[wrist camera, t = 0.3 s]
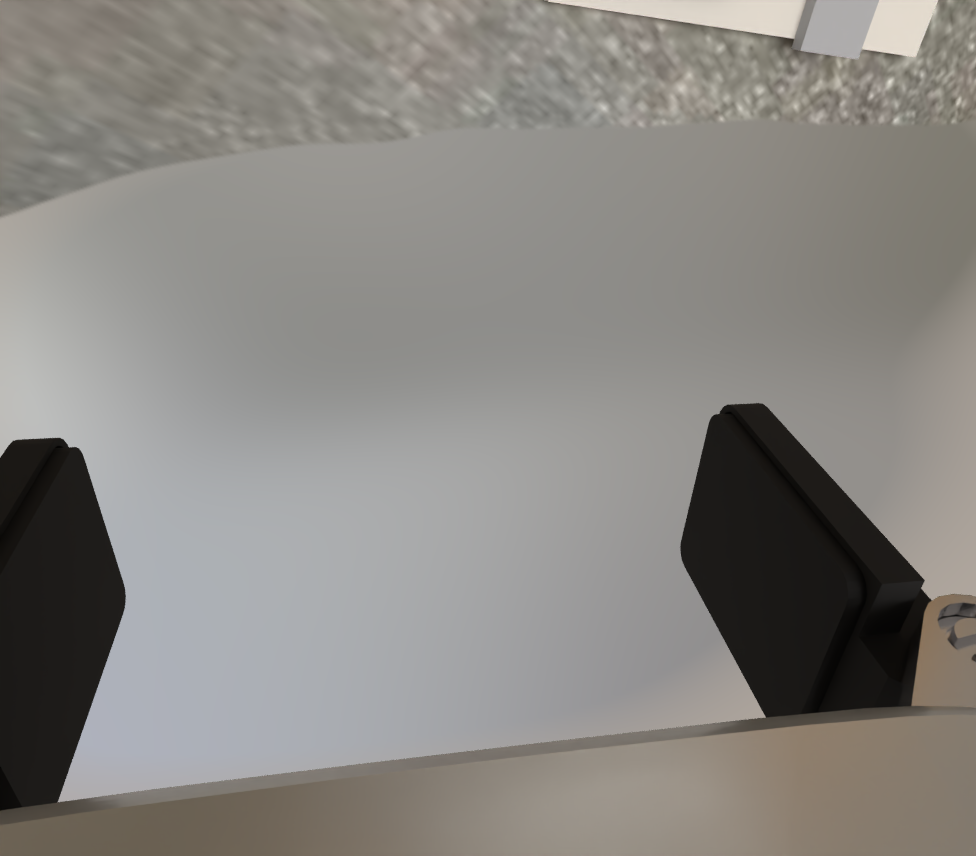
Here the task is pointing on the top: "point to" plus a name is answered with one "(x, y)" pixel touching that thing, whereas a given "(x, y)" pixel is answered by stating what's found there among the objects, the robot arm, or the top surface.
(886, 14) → the plate
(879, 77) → the top surface
